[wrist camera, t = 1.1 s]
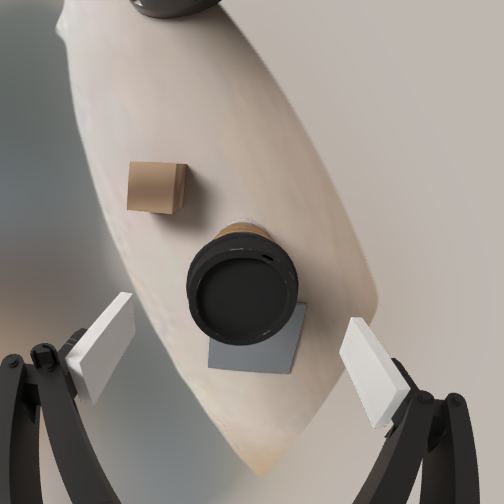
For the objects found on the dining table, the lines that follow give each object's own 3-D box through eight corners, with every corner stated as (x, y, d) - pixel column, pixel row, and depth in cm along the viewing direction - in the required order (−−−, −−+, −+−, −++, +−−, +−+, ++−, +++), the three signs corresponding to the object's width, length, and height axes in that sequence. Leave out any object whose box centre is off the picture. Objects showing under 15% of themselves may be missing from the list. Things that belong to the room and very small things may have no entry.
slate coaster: (213, 293, 34) (212, 296, 33) (305, 303, 35) (306, 305, 34) (208, 364, 38) (208, 367, 37) (288, 371, 38) (288, 373, 38)
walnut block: (146, 162, 29) (130, 161, 24) (187, 164, 29) (176, 163, 25) (143, 203, 31) (126, 209, 26) (183, 206, 31) (171, 213, 26)
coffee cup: (291, 227, 32) (328, 277, 17) (258, 287, 34) (266, 367, 20) (226, 195, 30) (210, 219, 16) (196, 258, 33) (163, 325, 18)
